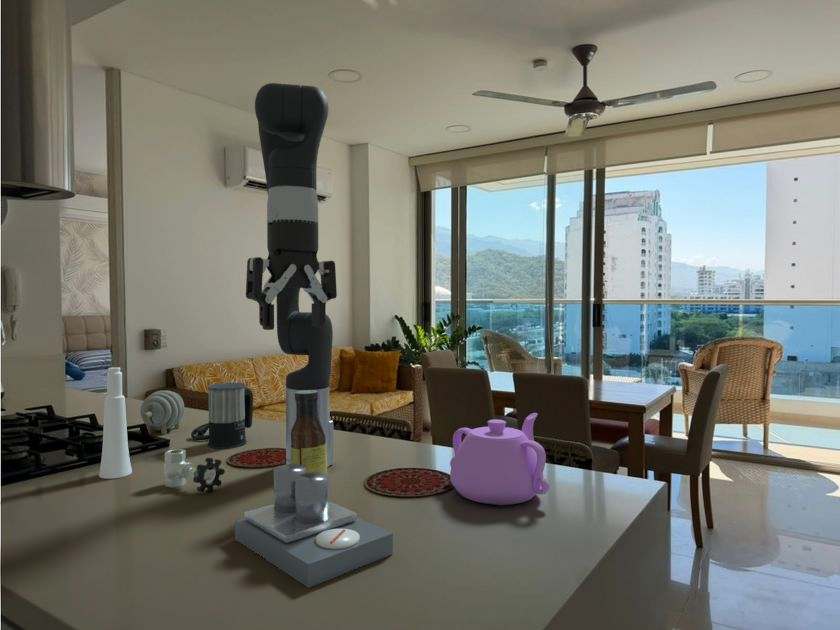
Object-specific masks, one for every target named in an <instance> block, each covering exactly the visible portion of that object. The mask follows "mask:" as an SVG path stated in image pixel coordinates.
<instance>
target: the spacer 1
mask: <svg viewBox="0 0 840 630" xmlns="http://www.w3.org/2000/svg"><path fill="white" fill-rule="evenodd" d="M304 473H306V467H305V466H303V465H298V464H287V465H286V464H283V465H279V466H276V467H274V468H273V504H274V510H275V511H276V512H280V513H294V512H295V477H296V476H298V475H300V474H304Z"/></svg>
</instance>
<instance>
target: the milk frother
mask: <svg viewBox="0 0 840 630" xmlns="http://www.w3.org/2000/svg"><path fill="white" fill-rule="evenodd" d="M206 388H207V391H208V422H207V423H205V424H202V425H200V426H197V427H196V428H194V429H192V431H191V432H190V436H191V438H192V439H193V440H196V441H207V440H208V442H207V446H208V447H209V448H212V449H221V450H222V449H232V448H238V447H241V446H244V445H246V444H247V437H246V429H248V428H249V429H251V428H252V425H253V413H254V409H253V408H254V394H253V391H252V390H251V389H250V388H249V387H246V383H243V382H223V383H222V382H220V383H213V384H209V385H207V386H206ZM207 431H208V434H206V433H207ZM205 434H206V435H205Z"/></svg>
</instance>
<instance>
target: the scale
mask: <svg viewBox="0 0 840 630" xmlns="http://www.w3.org/2000/svg"><path fill="white" fill-rule="evenodd" d="M393 536H394V534H393V533H392V532H390V531H388V530H386V529H384V528H382V527H379V526H378V525H374V524H373V523H372V522H371V523H370V522H368V521H366V520H364V519H361V518H359V517H357V520H355V521H352V522H349V523H346V524H343V525H340V526H337V527H334V528H331V529H328V530H325V531H322V532H319V533H316V534H313V535H310V536H307V537H304V538H301V539H297V540H294V541H291V542H288V543H285V542H283V541H282V540H280V539H278V538H277V537H275V536H273V535H272V534H270V533H268V532H266V531H265V530H263V529H261V528H260V527H258V526H256V525H254V524H253V523H251V522H249V521H248V520H246V519H244V517H241V518H238V519H234V540H235V541H236V542H238V543H239V542H240V543H239V544H241V545H242V544H243V545H242V546H244V547H245V546H246V547H245V548H247V549H249V550H250V549H251V550H250V551H252V552H253V551H254V552H253V553H255V554H256V553H257V554H256V555H258V554H259V555H260V557H261V556H262V557H263V558H262V557H261V558H262V559H264V558H265V559H266V561H267V562H268V561H269V563H270V564H271V563H272V565H273V566H274V565H275V566H274V567H276V568H277V567H278V568H277V569H279V570H281V571H282V572H283V573H285V574H286V575H289V576H290V577H292V578H293V579H294V580H296V581H297V582H299V583H300V584H302V585H304V586H305V587H306V588H308V589H310V588H312V587H314V586H317V585H319V584H322V583H324V582H327V581H330V580H332V579H335V578H337V577H339V576H343V575H344V573H345V574H348V573H350V572H352V571H354V569H355V570H356V569H359V567H360V568H362V567H364V565H365V566H367V565H369V564H372V563H374V562H376V561H379V560H381V559H385V558H387V557H389V556H392V555H393V554H394V553H393V552H394V551H393V549H394V548H393V547H394V544H393V543H394V537H393ZM259 555H258V556H259ZM265 559H264V560H265ZM351 570H352V571H351ZM349 571H350V572H349Z"/></svg>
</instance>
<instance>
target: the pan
mask: <svg viewBox="0 0 840 630" xmlns="http://www.w3.org/2000/svg"><path fill="white" fill-rule="evenodd" d="M243 513H244V516H243V518H244V519H246V520H248V521H249V522H251V523H253V524H254V525H256V526H258V527H260V528H261V529H263V530H265V531H266V532H268V533H270V534H272V535H273V536H275V537H277V538H278V539H280V540H282V541H283V542H285V543H288V542H291V541H294V540H297V539H301V538H304V537H307V536H310V535H313V534H316V533H319V532H322V531H325V530H328V529H331V528H334V527H337V526H340V525H343V524H346V523H349V522H352V521H355V520H357V518H358V513H357V512H354V511H353V510H351V509H348V508H346V507H344V506H341V505H339V504H336V503H334V502H332V501H331V500H329V517H328V519H327V520H326V521H324V522H322V523H318V524H301V523H298V522H296V520H295V512H294V513H280V512H276V511H275V510H274V503H273V504H269V505H265V506H262V507H258V508H255V509H249V510H247V511H246V510H245V511H244V512H243Z"/></svg>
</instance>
